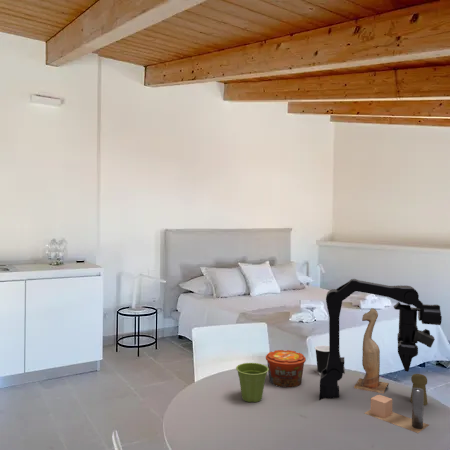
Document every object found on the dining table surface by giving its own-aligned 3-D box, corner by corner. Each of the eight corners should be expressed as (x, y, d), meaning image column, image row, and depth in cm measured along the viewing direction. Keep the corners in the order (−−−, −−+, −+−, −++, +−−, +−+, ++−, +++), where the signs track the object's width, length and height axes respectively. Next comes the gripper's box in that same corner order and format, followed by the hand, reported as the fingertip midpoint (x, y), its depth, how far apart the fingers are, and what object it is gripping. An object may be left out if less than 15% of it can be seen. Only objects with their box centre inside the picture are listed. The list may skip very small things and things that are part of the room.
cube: (370, 413, 147) (370, 398, 147) (378, 409, 150) (378, 394, 150) (384, 418, 143) (384, 403, 143) (392, 414, 146) (392, 398, 146)
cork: (430, 410, 153) (430, 378, 153) (411, 408, 154) (412, 377, 154) (425, 403, 159) (426, 372, 158) (407, 401, 160) (408, 371, 160)
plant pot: (231, 402, 158) (231, 371, 158) (242, 390, 169) (242, 361, 169) (262, 408, 153) (263, 375, 153) (272, 395, 164) (272, 365, 164)
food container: (301, 392, 168) (301, 363, 168) (260, 385, 174) (260, 358, 173) (308, 377, 183) (309, 351, 183) (271, 372, 189) (271, 347, 188)
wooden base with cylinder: (363, 416, 147) (364, 378, 147) (376, 409, 152) (376, 372, 152) (418, 437, 134) (418, 394, 133) (429, 428, 139) (430, 388, 139)
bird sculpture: (357, 383, 178) (356, 303, 178) (388, 387, 173) (387, 305, 173) (353, 393, 168) (352, 309, 167) (386, 398, 163) (384, 311, 162)
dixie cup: (337, 376, 184) (337, 350, 184) (319, 377, 183) (319, 351, 182) (328, 370, 192) (328, 344, 192) (311, 371, 190) (311, 345, 190)
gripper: (435, 331, 143) (434, 379, 143) (431, 319, 160) (429, 362, 161) (398, 327, 147) (397, 374, 147) (398, 316, 164) (396, 358, 165)
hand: (406, 367), depth 155 cm, fingers open, 9 cm apart
